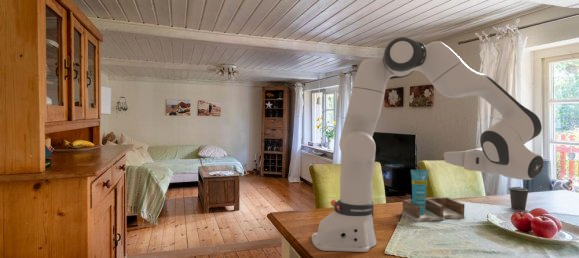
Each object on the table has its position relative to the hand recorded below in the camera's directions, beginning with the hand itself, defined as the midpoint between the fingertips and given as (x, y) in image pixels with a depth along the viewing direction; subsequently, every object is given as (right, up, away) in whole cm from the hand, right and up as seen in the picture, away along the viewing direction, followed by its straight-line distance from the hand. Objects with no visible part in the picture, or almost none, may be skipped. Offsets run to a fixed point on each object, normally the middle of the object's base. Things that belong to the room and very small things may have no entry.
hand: (455, 154), depth 120 cm
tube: (-6, -27, +19) cm, 34 cm away
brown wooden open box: (-4, -29, +20) cm, 35 cm away
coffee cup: (+47, -28, +32) cm, 63 cm away
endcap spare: (+6, -28, +23) cm, 37 cm away
